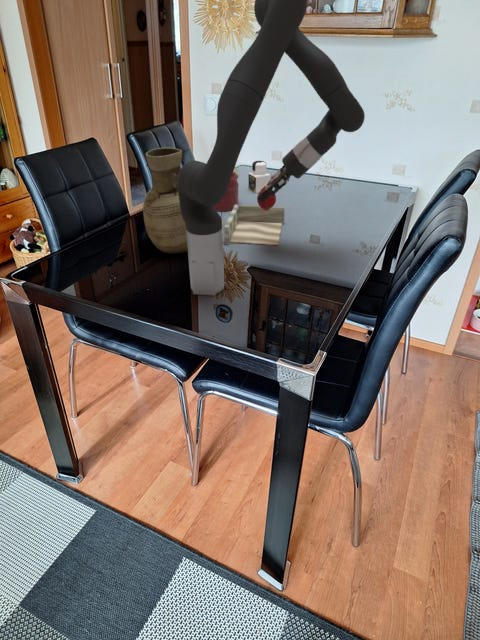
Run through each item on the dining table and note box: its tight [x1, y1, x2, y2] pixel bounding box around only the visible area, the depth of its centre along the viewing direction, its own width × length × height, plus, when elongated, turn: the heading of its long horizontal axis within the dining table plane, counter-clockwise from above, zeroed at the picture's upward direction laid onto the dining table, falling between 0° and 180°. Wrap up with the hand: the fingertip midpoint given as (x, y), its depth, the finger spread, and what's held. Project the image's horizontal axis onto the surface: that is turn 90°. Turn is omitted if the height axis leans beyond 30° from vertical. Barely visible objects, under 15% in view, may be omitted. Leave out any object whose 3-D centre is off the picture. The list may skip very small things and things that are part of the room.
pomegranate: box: [256, 185, 277, 211], centre depth 132 cm, size 6×6×8 cm
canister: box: [213, 167, 240, 212], centre depth 168 cm, size 13×13×18 cm
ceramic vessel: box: [142, 147, 188, 254], centre depth 134 cm, size 19×21×30 cm
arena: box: [223, 204, 285, 246], centre depth 148 cm, size 21×18×6 cm
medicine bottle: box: [248, 160, 271, 194], centre depth 186 cm, size 7×7×12 cm
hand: (261, 196), depth 133 cm, fingers closed on pomegranate, 5 cm apart
